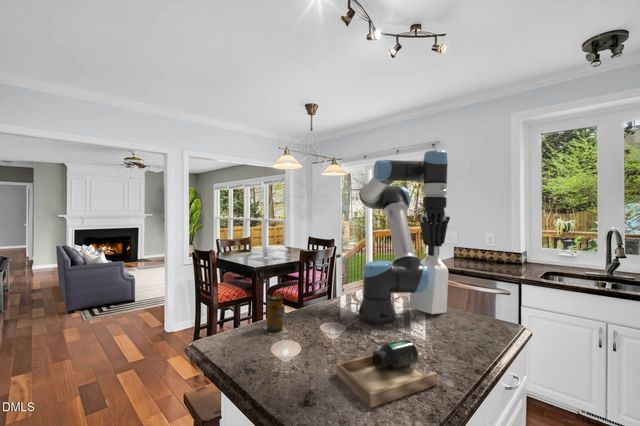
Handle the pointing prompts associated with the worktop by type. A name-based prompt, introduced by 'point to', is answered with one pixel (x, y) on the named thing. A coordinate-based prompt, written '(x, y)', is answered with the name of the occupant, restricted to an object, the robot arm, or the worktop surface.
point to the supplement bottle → (395, 356)
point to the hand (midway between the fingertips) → (433, 264)
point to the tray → (381, 380)
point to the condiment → (275, 316)
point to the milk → (432, 290)
